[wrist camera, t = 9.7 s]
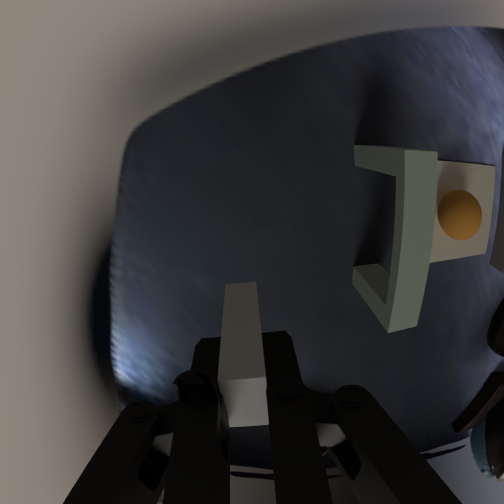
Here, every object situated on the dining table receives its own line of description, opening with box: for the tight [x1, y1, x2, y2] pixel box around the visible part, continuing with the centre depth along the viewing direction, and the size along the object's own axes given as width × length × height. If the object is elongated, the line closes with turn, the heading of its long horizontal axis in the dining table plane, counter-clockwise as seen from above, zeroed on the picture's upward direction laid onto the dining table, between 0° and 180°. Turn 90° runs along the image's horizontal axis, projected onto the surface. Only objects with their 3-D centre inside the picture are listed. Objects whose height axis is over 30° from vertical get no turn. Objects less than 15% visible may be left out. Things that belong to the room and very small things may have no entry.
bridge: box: [352, 145, 437, 333], centre depth 23 cm, size 3×14×9 cm, turn 5°
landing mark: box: [429, 161, 495, 263], centre depth 27 cm, size 12×12×1 cm
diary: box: [452, 372, 504, 434], centre depth 44 cm, size 19×25×5 cm
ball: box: [438, 190, 482, 240], centre depth 25 cm, size 6×6×6 cm
